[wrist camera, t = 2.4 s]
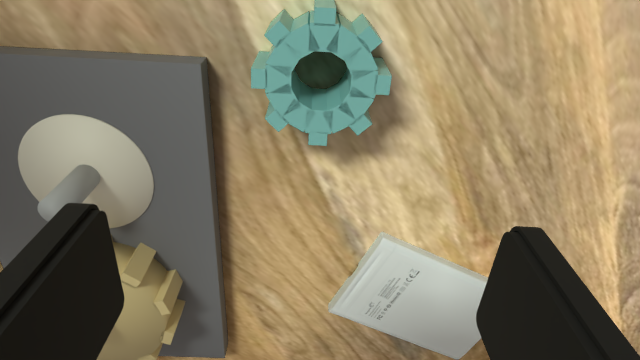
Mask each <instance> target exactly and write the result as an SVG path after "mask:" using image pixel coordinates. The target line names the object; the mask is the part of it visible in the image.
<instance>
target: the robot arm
mask: <svg viewBox="0 0 640 360" xmlns="http://www.w3.org/2000/svg"><path fill="white" fill-rule="evenodd" d="M123 306H124V292H123V288H122V283H121V278H120V274H119V269H118V265H117V260H116V256H115V251H114V246H113V242H112V237H111V233H110V228H109V224H108V219H107V215H106V213H105V212H104V211H100V210H99V208H98V206H97V205H95V204H85V203H67V204H66V205H64V206H63V207H62V208H61V209H60V210H59V211H58V212H57V214H56V215H55V216H54V217H53V218H52V219H51V220H50V221H49V222H48V223H47V224H46V225H45V226H44V227H43V228H42V229H41V230H40V231H39V232H38V234H37V235H36V236H35V237H34V238H33V239H32V240H31V241H30V242H29V243H28V244H27V245H26V246H25V247H24V248H23V249H22V250H21V251H20V252H19V253H18V255H17V256H16V257H15V258H14V259H13V260H12V261H11V262H10V263H9V264H8V265H7V266H6V267H5V268H4V269H3V270H2V271H1V272H0V360H97V358H98V356H99V354H100V352H101V350H102V348H103V346H104V344H105V342H106V341H107V339H108V337H109V335H110V333H111V331H112V329H113V327H114V325H115V323H116V322H117V320H118V318H119V316H120V314H121V312H122V310H123ZM476 323H477V327H478V330H479V333H480V335H481V338H482V340H483V342H484V345H485V347H486V350H487V352H488V355H489V357H490V360H640V356H639V355H638V354H637V352H636V351H635V350H634V348H633V347H632V346H631V344H630V343H629V342H628V340H627V339H626V338H625V337H624V335H623V334H622V333H621V331H620V330H619V329H618V327H617V326H616V325H615V323H614V322H613V321H612V320H611V318H610V317H609V316H608V314H607V313H606V312H605V310H604V309H603V308H602V306H601V305H600V304H599V303H598V301H597V300H596V299H595V297H594V296H593V295H592V293H591V292H590V291H589V289H588V288H587V287H586V285H585V284H584V283H583V282H582V280H581V279H580V278H579V276H578V275H577V274H576V272H575V271H574V270H573V268H572V267H571V266H570V265H569V263H568V262H567V261H566V259H565V258H564V257H563V255H562V254H561V253H560V251H559V250H558V249H557V248H556V246H555V245H554V244H553V242H552V241H551V240H550V238H549V237H548V236H547V234H546V233H545V232H544V231H543V230H542V229H541V228H538V227H520V226H515V227H513V228H512V229H511V231H510V232H505V233H504V235H503V237H502V239H501V242H500V245H499V248H498V251H497V254H496V257H495V260H494V263H493V266H492V269H491V272H490V275H489V277H488V280H487V283H486V286H485V289H484V292H483V295H482V298H481V301H480V304H479V307H478V310H477V313H476Z"/></svg>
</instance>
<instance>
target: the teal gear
mask: <svg viewBox="0 0 640 360" xmlns="http://www.w3.org/2000/svg"><path fill="white" fill-rule="evenodd" d="M265 37H266V38H267V39H268V40H269V41H270V42H271V43H272V44H273V46H272V48H271V51H270V52H264V51H259V53H258V55H257V57H256V59H255V61H254V63H253V65H252V67H251V88H258V89H265V93H266V96H267V97H268V99H269V101H270V103H269V106H268V110H267V114H266V117H265V119H266V120H267V121H268V122H269V123H270V124H271V125H272V126H273V127H274V128H275V129H276V130H277V131H278V132H279V131H280V130H281V129H282V128H284V127H285V126H286V125H287V124H288V123H289V124H290V125H292V126H294V127H295V128H297V129H299V130H300V131H302V132H304V131H305V133H309V140H308V145H322V146H327V134H331V131H332V133H336V132H338V131H340V130H342V129H344V128H346V127H348V126H349V127H350V128H351V129H352V130H353V131H354V132H355V133H356V135H357V136H358V135H359V134H361V133H362V132H363V131H364V130H366V129H367V128H368V127H369V126H371V125H372V121H371V118H370V115H369V111H368V108H369V106H370V105H371V104H372V102H373V101H374V98H375V95H389V92H390V85H391V78H392V75H391V74H390V72H389V70H388V68H387V66H386V64H385V62H384V60H383V59H382V58H375V57H372V54H371V51H372V50H374V49H375V48H376V47H377V46H378V45H379V44H381V43H382V40H381V38H380V37H379V35H378V34H377V32H376V30H375V29H374V27H373V26H372V25H371V24H370V22H369V21H368V20H367V19H366V17H365V16H364V15H363V14H361V15H360V16H359V17H358V18H357V19H356V20H355V21H353V22H352V23H351V22H350V21H349V20H347V19H346V18H344V17H343V16H342V15H340V14H339V13H338V14H337V13H336V6H335V2H334V0H315V5H314V11H310V13H309V11H308V12H307V13H305V14H303V15H301V16H299V17H297V18H296V19H293V18H292V17H291V16H290V15H289V14H288V13H287V11H286V10H285V9H284V10H283V11H282V12H281V13H280V14H279V15H278V16H277V17H276V18H275V19H274V20H273V21H272V22H271V23H270V25H269V27H268V29H267V31H266V33H265ZM314 51H319V52H332V53H333V54H335V55H336V56H338V57H339V58H341V59H342V60H344V61H345V63H346V72H345V74H344V75H343V77H342V78H341V80H340V81H339V83H337V84H335V85H333V86H331V87H329V88H327V89H315V88H311V87H309V86H308V85H306V84H305V83H303V82H301V81H300V79H299V77H298V75H297V73H296V71H295V69H294V68H295V66H296V64H297V63H298V61H299V60H300V59H301V58H303V57H305V56H306V55H308V54H310V53H312V52H314Z"/></svg>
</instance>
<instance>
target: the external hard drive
mask: <svg viewBox="0 0 640 360" xmlns="http://www.w3.org/2000/svg"><path fill="white" fill-rule="evenodd" d="M487 280H488V277H486V276H483V275H481V274H479V273H476V272H474V271H472V270H469V269H467V268H465V267H462V266H460V265H458V264H455V263H453V262H451V261H449V260H446V259H444V258H442V257H439V256H437V255H435V254H433V253H430V252H428V251H426V250H423V249H421V248H419V247H416V246H414V245H412V244H409V243H407V242H405V241H402V240H400V239H398V238H395V237H393V236H391V235H389V234H386V233H384V232H381V233H380V234H379V236H378V237H377V239H376V240H375V241H374V243H373V244H372V245H371V247H370V248H369V249H368V251H367V252H366V254H365V255H364V256H363V258H362V259H361V260H360V262H359V263H358V267H357V269H356V270H355V271H354V273H353V274H352V275H351V276H349V277H348V278H347V279H346V281H345V282H344V284H343V285H342V286H341V288H340V289H339V290H338V292H337V293H336V294H335V296H334V297H333V298H332V300H331V301H330V303H329V304H328V310H329V312H331V313H333V314H336V315H339V316H341V317H344V318H347V319H350V320H352V321H355V322H357V323H360V324H363V325H365V326H368V327H370V328H373V329H376V330H378V331H381V332H384V333H386V334H389V335H392V336H394V337H397V338H400V339H402V340H405V341H408V342H410V343H413V344H416V345H418V346H421V347H424V348H426V349H429V350H432V351H434V352H437V353H440V354H443V355H445V356H448V357H451V358H453V359H457V360H458V359H460V358H461V357H463V356H464V355H465V354H466V353H467V352H468V351H469V350H470V349H471V348H472V347H473V346H474V345H475V344H476V343H477V342H478V341H479V340H480V339H481V335H480V333H479V330H478V327H477V323H476V313H477V310H478V307H479V304H480V301H481V298H482V295H483V292H484V289H485V286H486V283H487Z"/></svg>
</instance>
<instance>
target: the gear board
mask: <svg viewBox="0 0 640 360" xmlns="http://www.w3.org/2000/svg"><path fill="white" fill-rule="evenodd" d="M67 203H85V204H95V205H97V206H98V208H99V210H100V211H104V212H105V213H106V215H107V219H108V224H109V228H110V233H111V237H112V242H113V246H114V251H115V256H116V260H117V265H118V269H119V274H120V278H121V283H122V288H123V292H124V306H123V310H122V312H121V314H120V316H119V318H118V320H117V322H116V323H115V325H114V327H113V329H112V331H111V333H110V335H109V337H108V339H107V341H106V342H105V344H104V346H103V348H102V350H101V352H100V354H99V356H98V358H97V360H157V358H158V356H176V357H209V358H225V355H226V351H227V346H228V334H227V320H226V307H225V294H224V281H223V267H222V254H221V241H220V228H219V214H218V201H217V188H216V175H215V161H214V148H213V135H212V122H211V108H210V95H209V82H208V69H207V57H192V56H173V55H155V54H136V53H117V52H99V51H80V50H61V49H42V48H24V47H5V46H0V261H1V264H2V266H3V269H4V268H5V267H6V266H7V265H8V264H9V263H10V262H11V261H12V260H13V259H14V258H15V257H16V256H17V255H18V253H19V252H20V251H21V250H22V249H23V248H24V247H25V246H26V245H27V244H28V243H29V242H30V241H31V240H32V239H33V238H34V237H35V236H36V235H37V234H38V232H39V231H40V230H41V229H42V228H43V227H44V226H45V225H46V224H47V223H48V222H49V221H50V220H51V219H52V218H53V217H54V216H55V215H56V214H57V212H58V211H59V210H60V209H61V208H62V207H63V206H64V205H66V204H67Z"/></svg>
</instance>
